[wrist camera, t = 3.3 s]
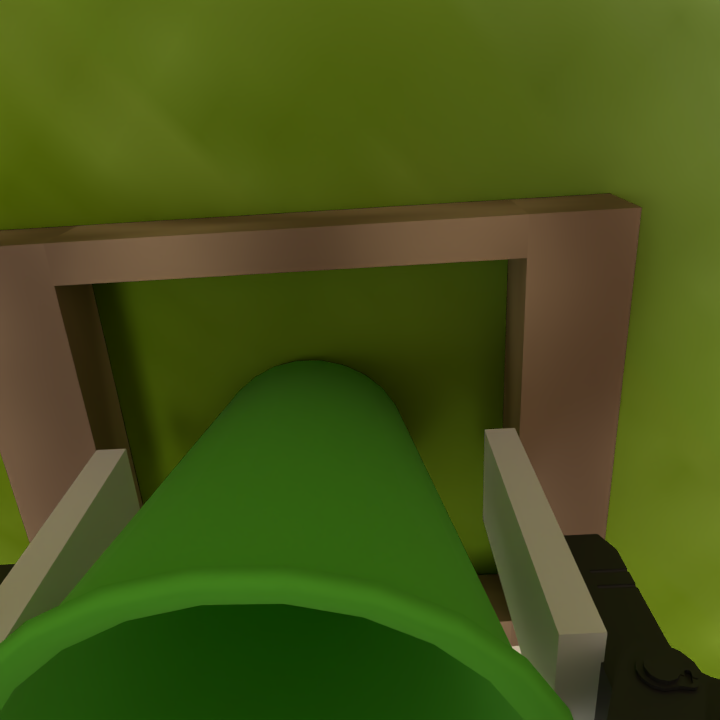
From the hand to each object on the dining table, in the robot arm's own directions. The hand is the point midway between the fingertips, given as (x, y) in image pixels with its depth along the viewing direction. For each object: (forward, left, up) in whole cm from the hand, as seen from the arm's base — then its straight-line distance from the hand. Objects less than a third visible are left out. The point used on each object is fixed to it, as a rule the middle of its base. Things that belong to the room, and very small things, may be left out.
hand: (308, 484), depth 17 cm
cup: (0, 0, -3) cm, 3 cm away
